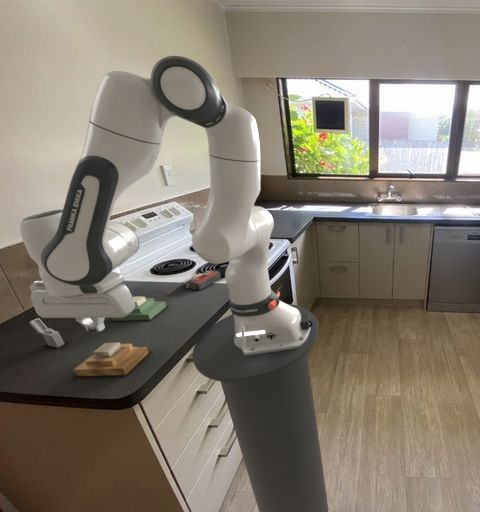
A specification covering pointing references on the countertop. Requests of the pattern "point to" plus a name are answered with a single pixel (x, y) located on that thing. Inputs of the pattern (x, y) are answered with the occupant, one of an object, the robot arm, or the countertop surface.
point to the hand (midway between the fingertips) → (96, 330)
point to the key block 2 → (144, 311)
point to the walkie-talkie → (199, 281)
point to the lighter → (47, 333)
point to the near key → (107, 350)
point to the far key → (139, 300)
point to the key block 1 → (112, 362)
